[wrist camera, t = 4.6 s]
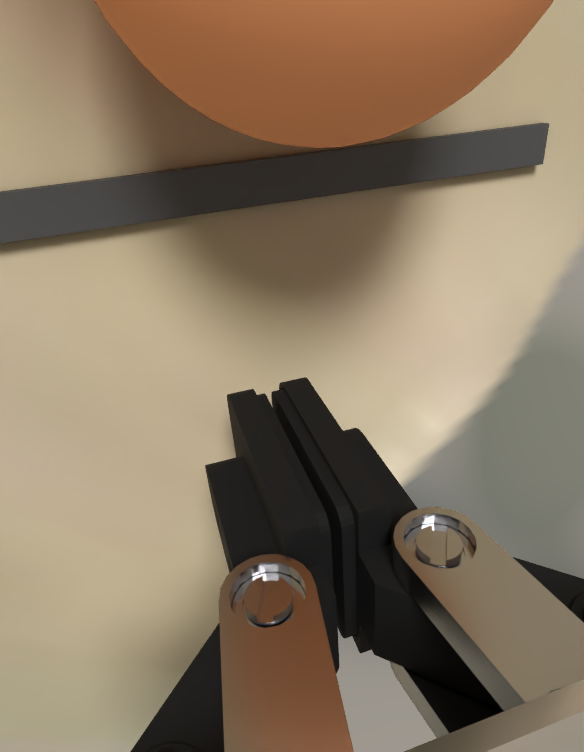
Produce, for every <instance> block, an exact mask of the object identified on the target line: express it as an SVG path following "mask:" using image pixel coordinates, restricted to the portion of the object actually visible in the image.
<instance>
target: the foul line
mask: <svg viewBox="0 0 584 752" xmlns="http://www.w3.org/2000/svg"><path fill="white" fill-rule="evenodd" d="M548 128H549V124H548V123H538V124H530V125H522V126H514V127H506V128H498V129H491V130H483V131H475V132H467V133H459V134H451V135H443V136H435V137H427V138H420V139H412V140H404V141H396V142H388V143H380V144H372V145H364V146H356V147H348V148H341V149H333V150H325V151H317V152H309V153H301V154H293V155H285V156H277V157H270V158H262V159H254V160H246V161H238V162H230V163H222V164H214V165H206V166H198V167H191V168H183V169H175V170H167V171H159V172H151V173H143V174H135V175H127V176H120V177H112V178H104V179H96V180H88V181H80V182H72V183H64V184H56V185H48V186H41V187H33V188H25V189H17V190H9V191H1V192H0V244H1V243H7V242H14V241H21V240H28V239H35V238H41V237H48V236H55V235H62V234H69V233H76V232H82V231H89V230H96V229H103V228H110V227H117V226H123V225H130V224H137V223H144V222H151V221H157V220H164V219H171V218H178V217H185V216H192V215H198V214H205V213H212V212H219V211H226V210H232V209H239V208H246V207H253V206H260V205H267V204H273V203H280V202H287V201H294V200H301V199H308V198H314V197H321V196H328V195H335V194H342V193H348V192H355V191H362V190H369V189H376V188H383V187H389V186H396V185H403V184H410V183H417V182H423V181H430V180H437V179H444V178H451V177H458V176H464V175H471V174H478V173H485V172H492V171H498V170H505V169H512V168H519V167H526V166H533V165H539V164H543V160H544V154H545V147H546V141H547V134H548Z"/></svg>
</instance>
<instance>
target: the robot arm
mask: <svg viewBox="0 0 584 752" xmlns="http://www.w3.org/2000/svg"><path fill="white" fill-rule="evenodd" d="M227 401H228V408H229V414H230V420H231V427H232V433H233V439H234V445H235V452H236V458H233V459H229V460H225V461H221V462H217V463H213V464H209V465H205V467H206V473H207V478H208V483H209V488H210V493H211V498H212V503H213V507H214V512H215V516H216V521H217V525H218V529H219V533H220V537H221V541H222V545H223V549H224V553H225V557H226V561H227V564H228V568H229V572H230V573H229V574H228V576H227V577H226V579H225V581H224V583H223V585H222V587H221V589H220V596H219V622H220V623H219V624H218V626H217V627H216V628H215V630H214V631H213V633H212V634H211V636H210V637H209V639H208V640H207V642H206V643H205V644H204V646H203V647H202V649H201V650H200V652H199V653H198V655H197V656H196V657H195V659H194V660H193V662H192V663H191V665H190V666H189V668H188V669H187V671H186V672H185V673H184V675H183V676H182V678H181V679H180V681H179V682H178V684H177V685H176V687H175V688H174V689H173V691H172V692H171V694H170V695H169V697H168V698H167V700H166V701H165V703H164V704H163V705H162V707H161V708H160V710H159V711H158V713H157V714H156V716H155V717H154V719H153V720H152V721H151V723H150V724H149V726H148V727H147V729H146V730H145V732H144V733H143V734H142V736H141V737H140V739H139V740H138V742H137V743H136V745H135V746H134V748H133V749H132V750H131V752H354V751H353V747H352V743H351V738H350V734H349V730H348V725H347V721H346V716H345V712H344V707H343V703H342V699H341V694H340V690H339V686H338V681H337V677H336V673H337V671H338V669H339V652H338V630H337V626H338V629H339V631H340V633H341V635H342V637H343V638H347V637H350V636H353V638H354V641H355V643H356V645H357V647H358V650H359V652H360V653H363V652H366V651H368V650H371V649H372V651H373V653H374V654H375V655H377V656H379V657H381V658H384V659H386V660H389V661H390V663H391V667H392V670H393V671H394V674H395V676H396V678H397V679H398V681H399V682H400V684H401V685H402V687H403V688H404V690H405V691H406V693H407V694H408V695H409V697H410V699H411V700H412V702H413V703H414V705H415V706H416V707H417V709H418V711H419V712H420V714H421V715H422V716H423V718H424V720H425V721H426V723H427V724H428V725H429V727H430V728H431V730H432V731H433V733H434V734H435V736H436V737H437V739H434V740H432V741H429V742H427V743H424V744H422V745H419V746H417V747H414V748H412V749H410V750H407V751H405V752H584V579H582V578H578V577H575V576H572V575H569V574H565V573H562V572H559V571H556V570H553V569H550V568H546V567H543V566H540V565H536V564H533V563H530V562H527V561H524V560H520V559H517V558H514V557H512V556H511V555H509V554H508V553H507V552H506V551H505V550H504V549H503V548H502V547H501V546H500V545H499V544H497V543H496V542H495V541H494V540H493V539H492V538H491V537H490V536H489V535H487V533H485V532H484V531H483V530H482V529H481V528H480V527H479V526H478V525H477V524H476V523H475V522H473V521H472V520H470V519H469V518H468V517H466V516H465V515H463V514H460V513H458V512H456V511H453V510H451V509H446V508H440V507H424V508H420V509H417V507H416V506H415V505H414V503H413V502H412V500H411V499H410V498H409V496H408V495H407V493H406V492H405V491H404V489H403V488H402V487H401V485H400V484H399V482H398V481H397V480H396V478H395V477H394V476H393V474H392V473H391V471H390V470H389V469H388V467H387V466H386V465H385V463H384V462H383V461H382V459H381V458H380V456H379V455H378V454H377V452H376V451H375V450H374V448H373V447H372V445H371V444H370V443H369V441H368V440H367V439H366V437H365V436H364V434H363V433H362V432H361V431H360V430H359V429H357V428H353V429H349V430H345V431H343V430H342V429H341V428H340V426H339V425H338V423H337V422H336V420H335V419H334V417H333V416H332V414H331V413H330V411H329V410H328V408H327V407H326V405H325V404H324V402H323V401H322V399H321V398H320V397H319V395H318V394H317V392H316V391H315V389H314V388H313V386H312V385H311V383H310V382H309V380H308V379H307V378H300V379H296V380H291V381H287V382H282V383H280V385H279V390H278V391H273V392H272V406H273V408H272V406H271V404H270V402H269V400H268V398H267V396H266V394H260V395H256V393H255V391H254V389H250V390H246V391H241V392H237V393H232V394H228V395H227Z"/></svg>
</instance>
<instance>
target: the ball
mask: <svg viewBox="0 0 584 752" xmlns="http://www.w3.org/2000/svg"><path fill="white" fill-rule="evenodd" d="M94 1H95V2H96V4H97V6H98V7H99V9H100V10H101V12H102V13H103V15H104V16H105V18H106V20H107V21H108V23H109V24H110V25H111V27H112V28H113V29H114V30H115V32H116V33H117V34H118V35H119V37H120V38H121V39H122V40H123V42H124V43H125V44H126V45H127V47H128V48H129V49H130V50H131V52H132V53H133V54H134V55H135V56H136V58H137V59H138V60H139V61H140V62H141V63H142V64H143V65H144V66H145V67H146V68H147V69H148V70H149V71H150V72H151V73H152V74H153V75H154V76H155V77H156V78H157V80H158V81H159V82H160V83H162V84H163V85H164V86H165V87H166V88H168V89H169V90H170V91H171V92H173V93H174V94H175V95H176V96H178V97H179V98H180V99H181V100H182V101H184V102H185V103H187V104H188V105H190V106H191V107H193V108H194V109H196V110H197V111H199V112H200V113H202V114H204V115H205V116H207V117H208V118H210V119H212V120H214V121H216V122H218V123H220V124H222V125H224V126H226V127H228V128H230V129H232V130H234V131H237V132H240V133H242V134H245V135H248V136H251V137H254V138H256V139H259V140H264V141H268V142H273V143H277V144H282V145H291V146H303V147H315V148H326V147H344V146H348V145H353V144H358V143H363V142H367V141H372V140H377V139H381V138H385V137H388V136H390V135H393V134H395V133H398V132H401V131H403V130H406V129H408V128H410V127H412V126H415V125H417V124H419V123H421V122H423V121H426V120H428V119H429V118H431V117H433V116H434V115H436V114H438V113H439V112H441V111H443V110H444V109H446V108H448V107H449V106H450V105H452V104H453V103H455V102H456V101H458V100H459V99H461V98H462V97H463V96H465V95H466V94H468V93H469V92H470V91H472V90H473V89H474V88H475V87H476V86H477V85H478V84H480V83H481V82H482V81H483V80H484V79H485V78H487V77H488V76H489V75H490V74H491V73H492V72H493V71H494V70H495V69H496V68H497V67H498V66H499V65H500V64H501V63H503V62H504V61H505V60H506V59H507V58H508V57H509V56H510V55H511V54H512V53H513V51H514V50H515V49H516V48H517V47H518V45H519V44H520V43H521V42H522V40H523V39H524V38H525V37H526V36H527V34H528V33H529V32H530V31H531V29H532V28H533V27H534V26H535V24H536V23H537V22H538V21H539V19H540V18H541V17H542V16H543V14H544V13H545V12H546V11H547V9H548V8H549V7H550V5H551V4H552V2H553V0H94Z"/></svg>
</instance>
